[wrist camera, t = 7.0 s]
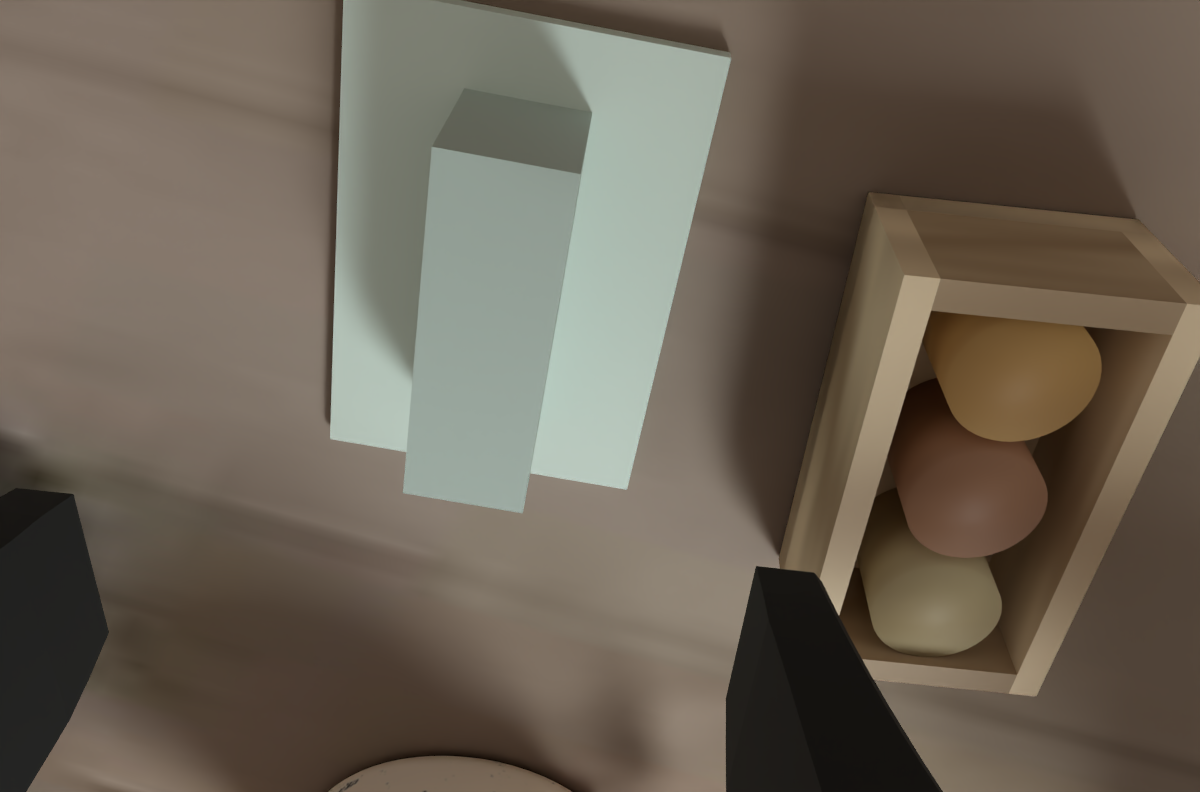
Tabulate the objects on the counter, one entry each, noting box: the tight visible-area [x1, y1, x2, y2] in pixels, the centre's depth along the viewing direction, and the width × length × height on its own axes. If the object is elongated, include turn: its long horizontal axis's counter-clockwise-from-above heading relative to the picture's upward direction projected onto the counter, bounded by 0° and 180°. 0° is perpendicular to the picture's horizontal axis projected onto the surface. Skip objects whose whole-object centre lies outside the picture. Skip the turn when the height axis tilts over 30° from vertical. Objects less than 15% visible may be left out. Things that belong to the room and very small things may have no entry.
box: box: [779, 192, 1200, 696], centre depth 17 cm, size 8×4×3 cm, turn 175°
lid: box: [330, 0, 731, 513], centre depth 17 cm, size 8×6×3 cm
